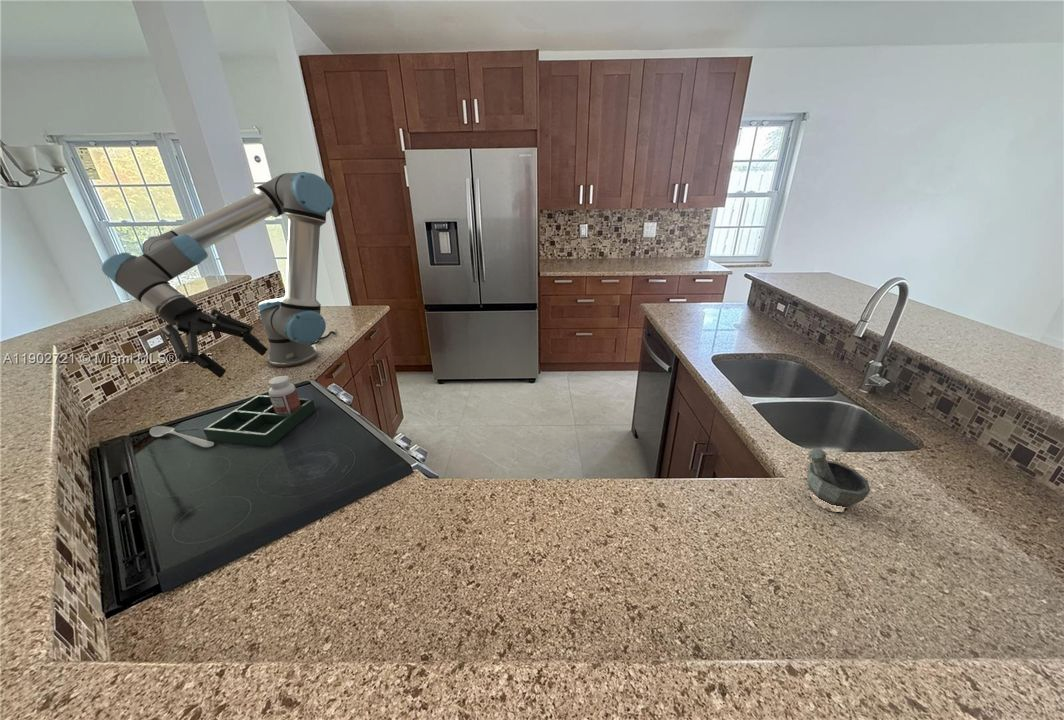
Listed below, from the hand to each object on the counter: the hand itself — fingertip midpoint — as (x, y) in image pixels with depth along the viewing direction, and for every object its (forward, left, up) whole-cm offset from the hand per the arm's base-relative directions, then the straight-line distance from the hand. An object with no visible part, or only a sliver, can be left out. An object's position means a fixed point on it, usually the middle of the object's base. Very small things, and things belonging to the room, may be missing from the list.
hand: (245, 362), depth 99 cm
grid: (+5, +5, -16) cm, 17 cm away
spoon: (+14, -11, -16) cm, 24 cm away
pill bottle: (0, +9, -15) cm, 18 cm away
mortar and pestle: (+14, +140, -16) cm, 142 cm away
